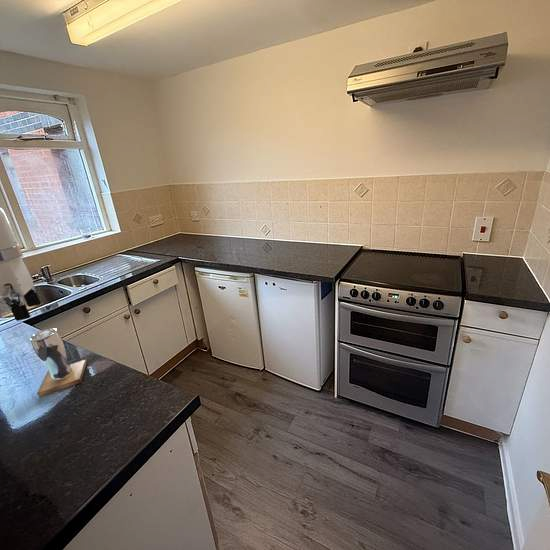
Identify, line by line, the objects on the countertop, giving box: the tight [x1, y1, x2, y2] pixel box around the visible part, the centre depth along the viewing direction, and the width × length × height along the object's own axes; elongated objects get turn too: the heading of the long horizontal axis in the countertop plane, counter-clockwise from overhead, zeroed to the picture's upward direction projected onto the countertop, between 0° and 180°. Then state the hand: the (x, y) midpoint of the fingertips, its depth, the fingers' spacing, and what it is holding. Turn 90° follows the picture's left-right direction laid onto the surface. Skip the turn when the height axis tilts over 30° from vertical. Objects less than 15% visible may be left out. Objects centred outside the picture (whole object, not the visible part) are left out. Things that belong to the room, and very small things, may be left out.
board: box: [36, 359, 87, 397], centre depth 94 cm, size 11×11×2 cm
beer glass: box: [29, 327, 74, 382], centre depth 91 cm, size 7×7×15 cm
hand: (29, 311), depth 85 cm, fingers open, 9 cm apart
